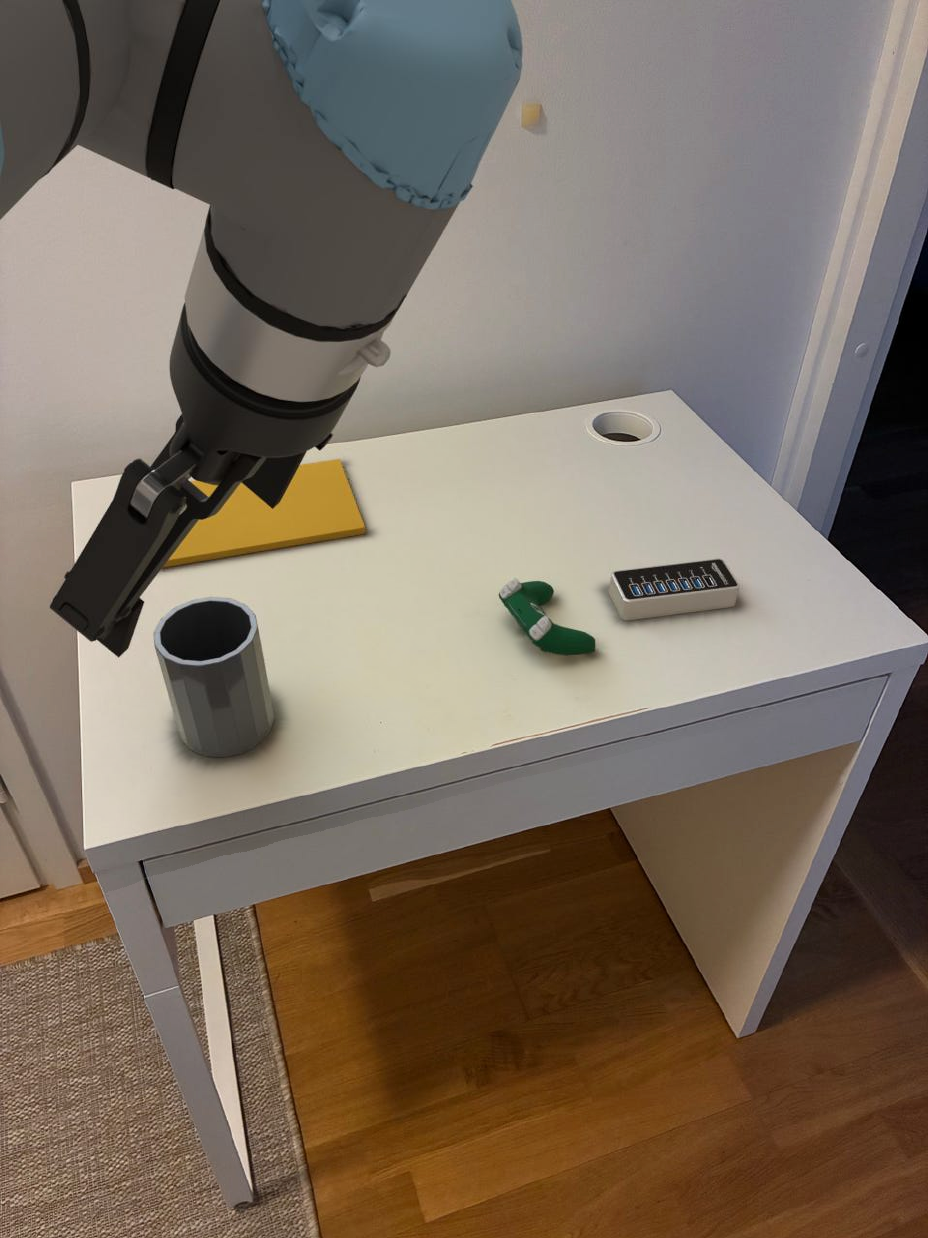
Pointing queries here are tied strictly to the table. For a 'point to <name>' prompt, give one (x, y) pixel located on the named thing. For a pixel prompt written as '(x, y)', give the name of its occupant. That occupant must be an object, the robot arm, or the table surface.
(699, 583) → the multiport hub
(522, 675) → the table surface
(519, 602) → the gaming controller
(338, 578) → the table surface
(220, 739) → the steel tumbler
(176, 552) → the mat
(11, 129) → the robot arm
